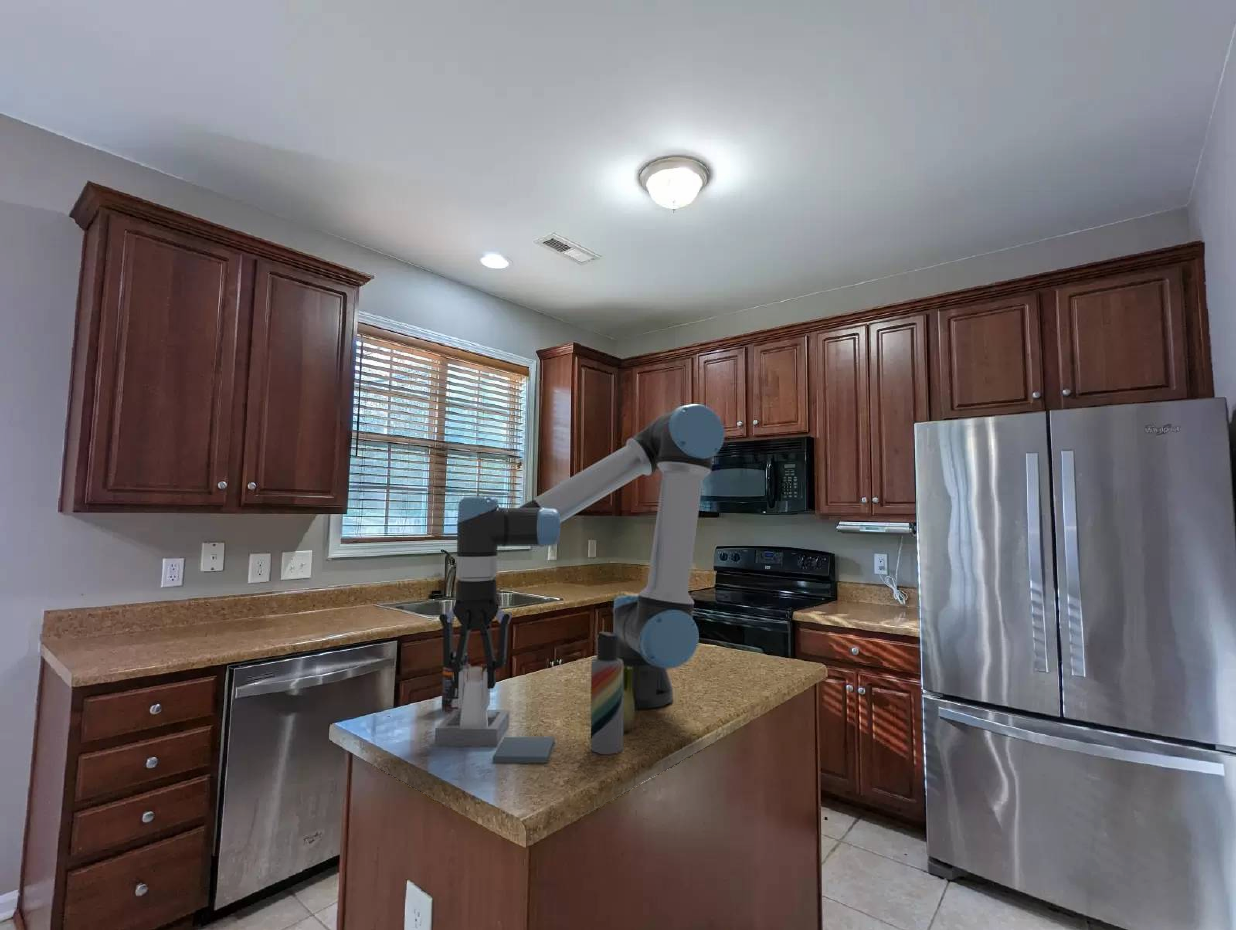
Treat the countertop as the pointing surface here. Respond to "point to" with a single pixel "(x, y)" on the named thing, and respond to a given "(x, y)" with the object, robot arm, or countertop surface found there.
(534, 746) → the mat
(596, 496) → the robot arm
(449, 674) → the supplement bottle
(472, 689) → the salt shaker
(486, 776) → the countertop surface
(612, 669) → the lotion bottle
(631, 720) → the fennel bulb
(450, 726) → the gray square tray
